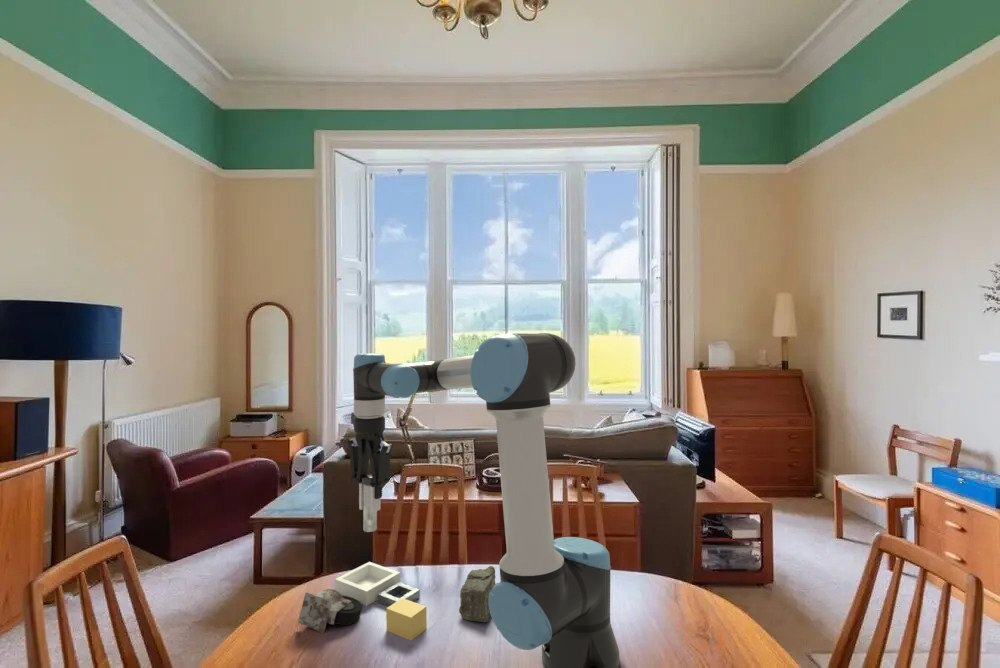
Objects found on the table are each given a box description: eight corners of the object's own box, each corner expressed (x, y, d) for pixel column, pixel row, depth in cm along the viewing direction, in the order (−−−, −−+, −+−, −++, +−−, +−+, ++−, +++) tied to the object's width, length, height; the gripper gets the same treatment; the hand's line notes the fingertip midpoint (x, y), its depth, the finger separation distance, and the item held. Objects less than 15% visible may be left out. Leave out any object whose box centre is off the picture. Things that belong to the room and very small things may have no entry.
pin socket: (419, 597, 128) (419, 589, 128) (399, 611, 122) (399, 602, 122) (398, 589, 131) (398, 581, 131) (377, 602, 126) (377, 594, 126)
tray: (400, 586, 133) (400, 572, 133) (366, 606, 124) (366, 591, 124) (369, 574, 139) (369, 561, 139) (335, 593, 130) (335, 579, 130)
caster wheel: (363, 623, 121) (340, 642, 112) (322, 606, 124) (296, 623, 115) (371, 594, 122) (348, 610, 112) (329, 578, 125) (304, 592, 115)
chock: (426, 629, 115) (426, 606, 115) (411, 641, 110) (411, 617, 110) (402, 619, 118) (402, 597, 118) (386, 631, 114) (386, 608, 114)
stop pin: (370, 533, 129) (369, 480, 128) (358, 530, 131) (358, 477, 130) (381, 528, 132) (381, 476, 131) (370, 525, 134) (370, 473, 133)
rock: (453, 571, 131) (492, 559, 132) (461, 597, 132) (499, 584, 133) (455, 605, 114) (499, 591, 115) (463, 635, 114) (507, 620, 116)
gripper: (404, 416, 129) (404, 511, 130) (357, 410, 138) (358, 499, 138) (382, 421, 123) (383, 521, 124) (335, 414, 131) (335, 507, 132)
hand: (369, 509), depth 131 cm, fingers closed on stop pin, 3 cm apart
